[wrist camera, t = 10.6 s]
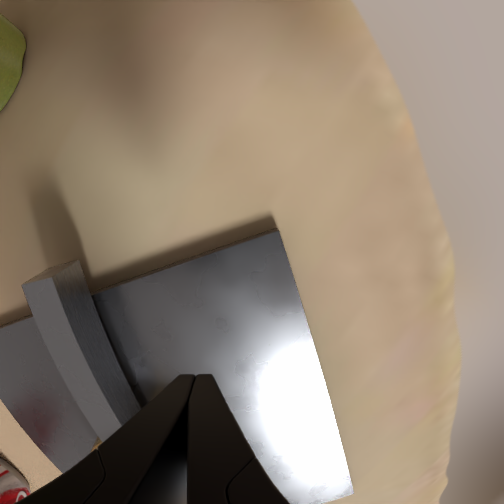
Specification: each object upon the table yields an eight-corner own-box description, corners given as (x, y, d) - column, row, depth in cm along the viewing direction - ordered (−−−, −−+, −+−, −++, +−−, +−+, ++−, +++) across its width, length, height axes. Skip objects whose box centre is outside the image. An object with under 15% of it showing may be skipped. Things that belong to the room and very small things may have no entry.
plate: (352, 488, 19) (354, 493, 18) (122, 519, 20) (121, 523, 19) (276, 227, 13) (278, 230, 13) (-30, 337, 14) (-35, 341, 14)
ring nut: (236, 488, 17) (236, 530, 13) (130, 489, 17) (121, 526, 13) (140, 244, 12) (106, 271, 9) (9, 278, 12) (-35, 304, 9)
